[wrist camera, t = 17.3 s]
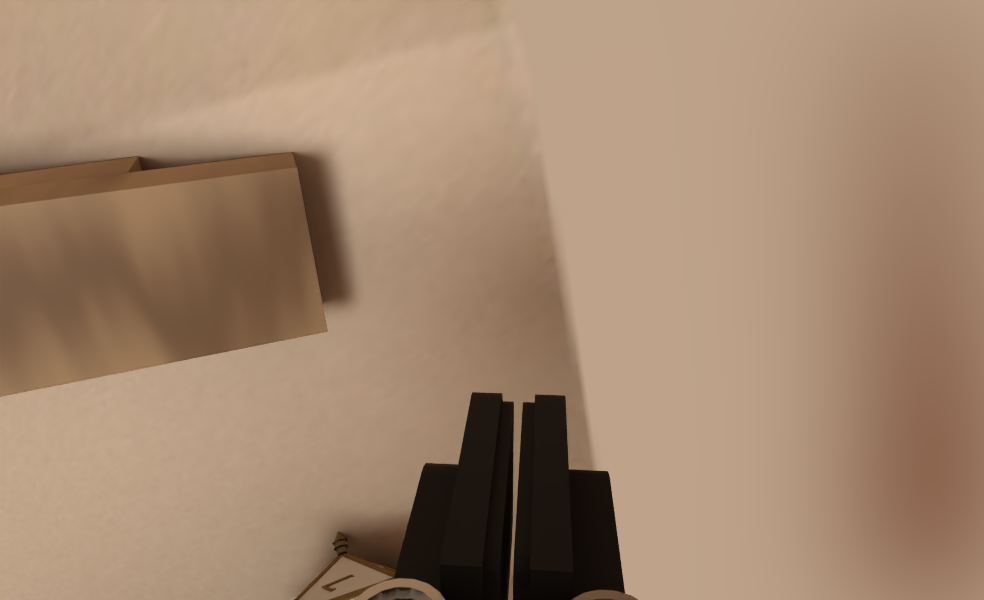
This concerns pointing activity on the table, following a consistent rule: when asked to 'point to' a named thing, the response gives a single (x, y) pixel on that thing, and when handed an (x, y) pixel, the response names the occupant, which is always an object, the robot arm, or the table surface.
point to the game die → (346, 576)
